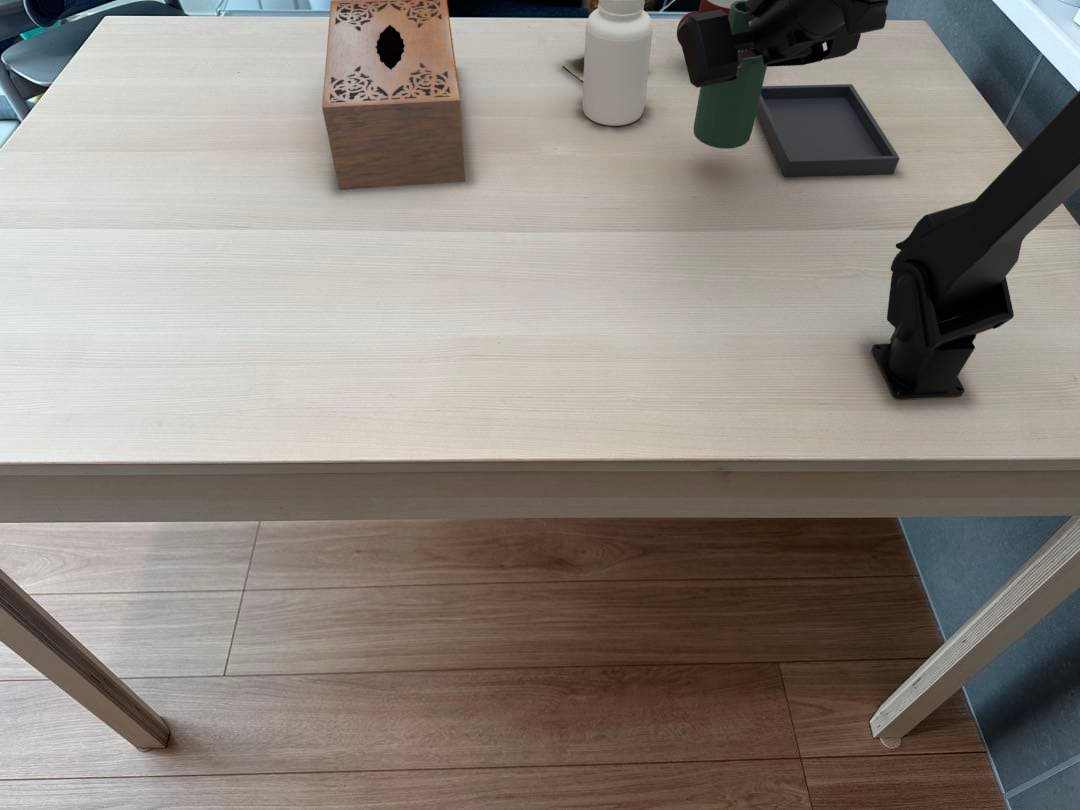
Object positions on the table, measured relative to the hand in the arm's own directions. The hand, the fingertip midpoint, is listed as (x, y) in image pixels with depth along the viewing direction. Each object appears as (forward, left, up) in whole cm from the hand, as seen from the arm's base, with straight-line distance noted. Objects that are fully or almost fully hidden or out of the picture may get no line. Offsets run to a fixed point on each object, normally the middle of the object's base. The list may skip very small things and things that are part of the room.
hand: (727, 67), depth 86 cm
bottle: (-1, 0, -7) cm, 7 cm away
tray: (+5, -15, -12) cm, 20 cm away
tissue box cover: (+10, +37, -12) cm, 40 cm away
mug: (+22, -5, -12) cm, 26 cm away
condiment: (+23, +10, -12) cm, 28 cm away
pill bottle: (+12, +10, -12) cm, 20 cm away
